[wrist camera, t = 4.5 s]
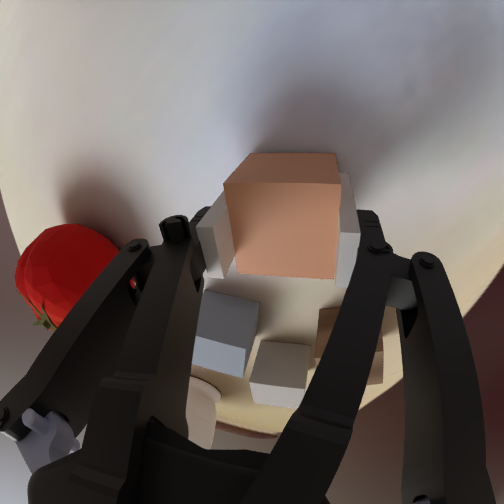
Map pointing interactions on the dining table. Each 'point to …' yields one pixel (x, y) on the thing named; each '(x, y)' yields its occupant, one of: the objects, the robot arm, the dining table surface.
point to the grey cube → (280, 374)
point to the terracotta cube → (285, 214)
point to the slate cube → (225, 333)
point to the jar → (201, 412)
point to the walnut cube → (323, 334)
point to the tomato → (61, 270)
